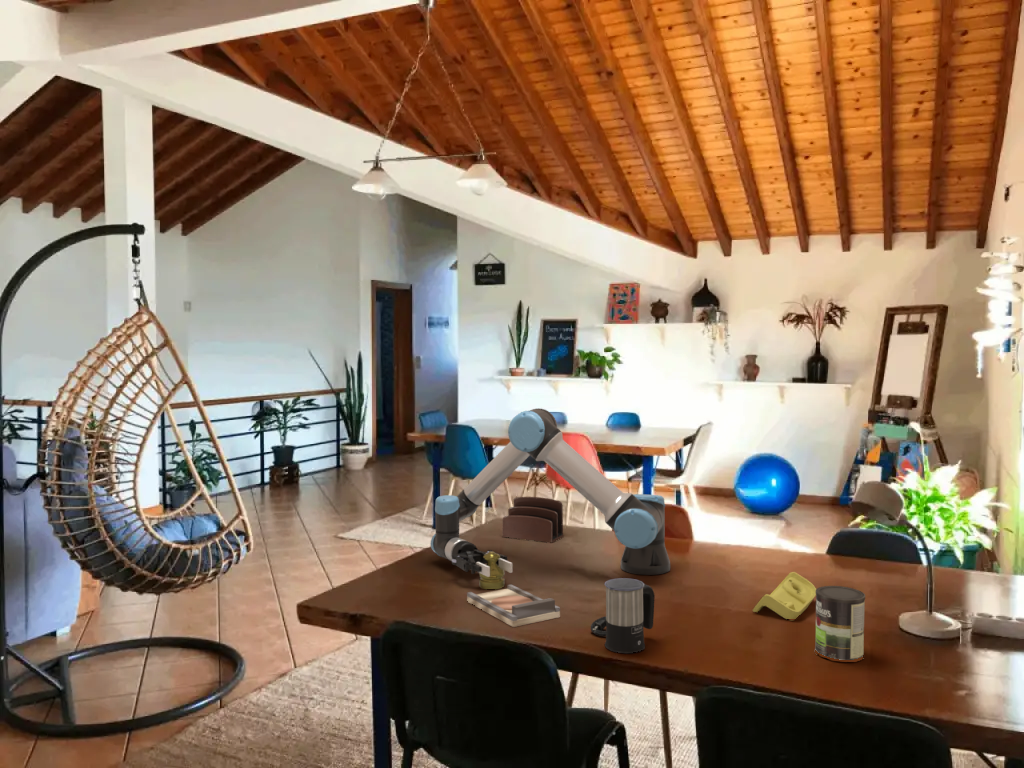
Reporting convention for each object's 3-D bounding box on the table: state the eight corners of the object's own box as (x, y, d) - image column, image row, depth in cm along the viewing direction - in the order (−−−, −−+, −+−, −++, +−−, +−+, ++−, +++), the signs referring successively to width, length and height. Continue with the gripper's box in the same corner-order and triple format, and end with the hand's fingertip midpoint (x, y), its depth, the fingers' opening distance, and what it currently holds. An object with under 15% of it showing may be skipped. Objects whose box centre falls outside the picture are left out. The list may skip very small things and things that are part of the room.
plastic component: (797, 614, 205) (761, 590, 210) (784, 637, 207) (749, 613, 212) (822, 589, 220) (788, 567, 225) (810, 610, 223) (777, 589, 228)
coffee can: (827, 664, 179) (828, 600, 178) (806, 647, 189) (807, 586, 188) (873, 662, 179) (874, 598, 179) (850, 645, 190) (851, 584, 189)
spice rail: (467, 601, 224) (466, 585, 224) (511, 593, 231) (511, 577, 231) (513, 627, 203) (513, 609, 203) (560, 617, 211) (559, 599, 210)
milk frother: (634, 657, 183) (634, 591, 183) (572, 644, 192) (571, 581, 191) (659, 638, 195) (659, 576, 195) (599, 626, 204) (599, 566, 203)
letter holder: (514, 532, 306) (514, 494, 306) (563, 537, 297) (563, 498, 296) (502, 538, 297) (501, 499, 297) (552, 543, 288) (552, 503, 288)
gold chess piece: (474, 588, 236) (474, 554, 235) (485, 581, 242) (485, 547, 242) (498, 591, 233) (498, 556, 232) (508, 584, 240) (508, 550, 239)
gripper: (489, 560, 258) (529, 577, 238) (433, 569, 248) (469, 588, 228) (489, 536, 257) (529, 552, 238) (432, 544, 247) (469, 561, 228)
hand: (500, 569), depth 233 cm, fingers closed on gold chess piece, 7 cm apart
